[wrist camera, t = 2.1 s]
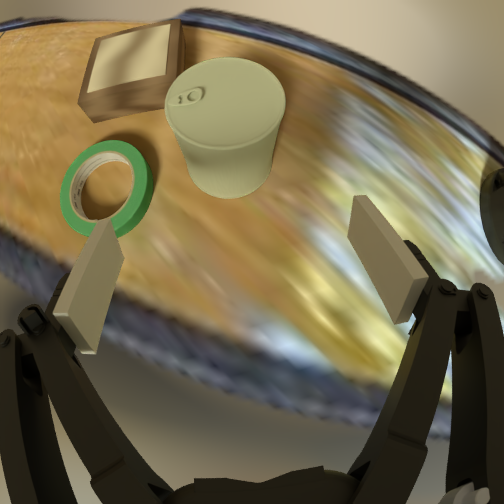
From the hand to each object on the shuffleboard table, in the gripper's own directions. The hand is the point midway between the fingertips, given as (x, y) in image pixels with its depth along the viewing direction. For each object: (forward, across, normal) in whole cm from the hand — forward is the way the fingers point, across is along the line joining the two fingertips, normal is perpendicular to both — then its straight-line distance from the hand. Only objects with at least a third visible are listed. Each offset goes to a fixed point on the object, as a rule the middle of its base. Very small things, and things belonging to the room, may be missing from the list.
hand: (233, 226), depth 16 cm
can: (+18, 0, -3) cm, 18 cm away
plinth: (+28, -11, +7) cm, 31 cm away
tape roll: (+17, -14, -5) cm, 22 cm away
